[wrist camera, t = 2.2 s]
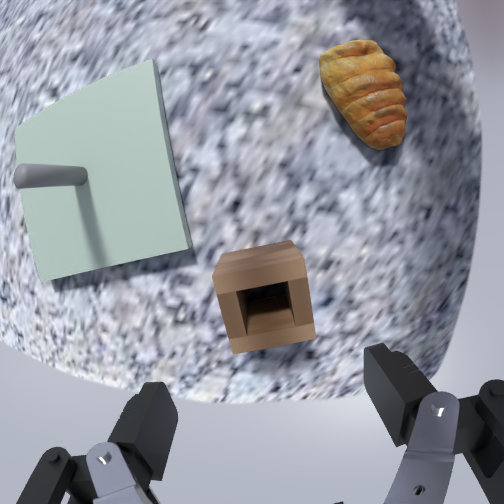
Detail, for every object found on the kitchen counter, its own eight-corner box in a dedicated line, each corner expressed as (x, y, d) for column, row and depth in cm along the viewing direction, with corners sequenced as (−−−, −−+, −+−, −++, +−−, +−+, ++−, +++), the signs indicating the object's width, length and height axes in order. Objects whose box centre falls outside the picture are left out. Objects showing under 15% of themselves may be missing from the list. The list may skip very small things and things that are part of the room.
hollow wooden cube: (290, 240, 23) (304, 257, 17) (301, 304, 24) (315, 338, 18) (221, 254, 23) (211, 276, 17) (237, 316, 24) (232, 354, 18)
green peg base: (157, 65, 19) (115, 15, 11) (192, 245, 23) (157, 279, 14) (23, 129, 20) (-37, 121, 11) (49, 277, 24) (-9, 309, 15)
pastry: (412, 140, 21) (435, 135, 17) (350, 159, 22) (367, 155, 18) (372, 48, 19) (388, 31, 15) (306, 60, 20) (315, 41, 16)
